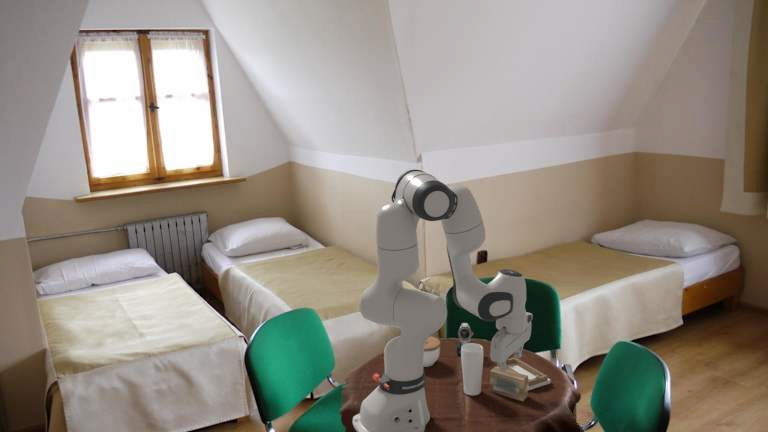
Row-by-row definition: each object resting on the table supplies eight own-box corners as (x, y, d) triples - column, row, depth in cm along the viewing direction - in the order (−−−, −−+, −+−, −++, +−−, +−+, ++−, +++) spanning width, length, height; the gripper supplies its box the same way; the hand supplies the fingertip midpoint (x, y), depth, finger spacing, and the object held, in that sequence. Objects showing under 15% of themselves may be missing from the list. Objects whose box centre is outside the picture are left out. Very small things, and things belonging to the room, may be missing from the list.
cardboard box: (522, 401, 183) (522, 380, 182) (489, 391, 190) (489, 371, 188) (527, 396, 186) (528, 375, 185) (495, 386, 193) (495, 366, 191)
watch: (457, 358, 213) (457, 328, 211) (457, 348, 221) (456, 319, 219) (473, 358, 213) (473, 329, 210) (472, 348, 220) (472, 320, 218)
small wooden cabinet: (525, 391, 189) (526, 380, 188) (494, 370, 203) (494, 360, 202) (550, 383, 194) (550, 372, 193) (517, 363, 207) (517, 353, 207)
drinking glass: (482, 398, 186) (482, 352, 182) (460, 396, 187) (460, 351, 184) (483, 387, 192) (483, 343, 189) (462, 386, 194) (461, 342, 190)
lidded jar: (405, 358, 214) (404, 333, 212) (434, 354, 217) (433, 329, 215) (415, 372, 204) (414, 346, 202) (445, 367, 207) (444, 341, 205)
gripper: (504, 337, 173) (504, 381, 176) (535, 312, 188) (534, 353, 192) (484, 332, 177) (485, 375, 180) (516, 308, 192) (516, 348, 196)
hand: (510, 363), depth 186 cm, fingers open, 8 cm apart
